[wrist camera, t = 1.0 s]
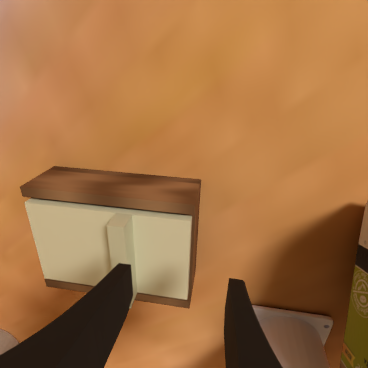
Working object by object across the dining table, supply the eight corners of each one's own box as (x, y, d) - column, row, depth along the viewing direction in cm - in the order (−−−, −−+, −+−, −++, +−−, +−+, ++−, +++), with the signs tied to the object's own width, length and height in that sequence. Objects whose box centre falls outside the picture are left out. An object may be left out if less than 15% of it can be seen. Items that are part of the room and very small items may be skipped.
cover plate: (192, 215, 19) (187, 235, 17) (188, 292, 22) (183, 317, 20) (30, 198, 20) (8, 213, 18) (49, 272, 24) (32, 292, 22)
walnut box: (201, 179, 21) (194, 204, 18) (195, 272, 26) (189, 308, 22) (54, 166, 23) (20, 186, 19) (71, 255, 27) (46, 286, 24)
